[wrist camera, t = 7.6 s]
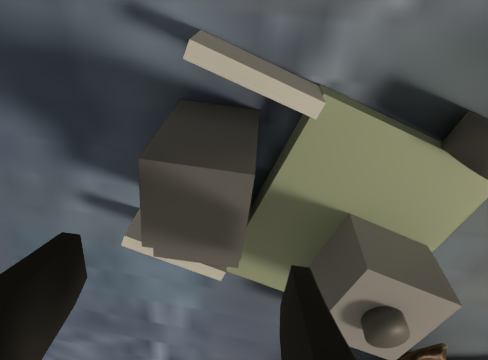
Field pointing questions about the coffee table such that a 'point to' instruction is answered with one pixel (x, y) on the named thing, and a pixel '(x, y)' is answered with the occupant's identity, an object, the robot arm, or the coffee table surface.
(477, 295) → the coffee table surface
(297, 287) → the robot arm
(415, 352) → the ceramic sculpture
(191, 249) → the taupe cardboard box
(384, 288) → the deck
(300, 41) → the coffee table surface
